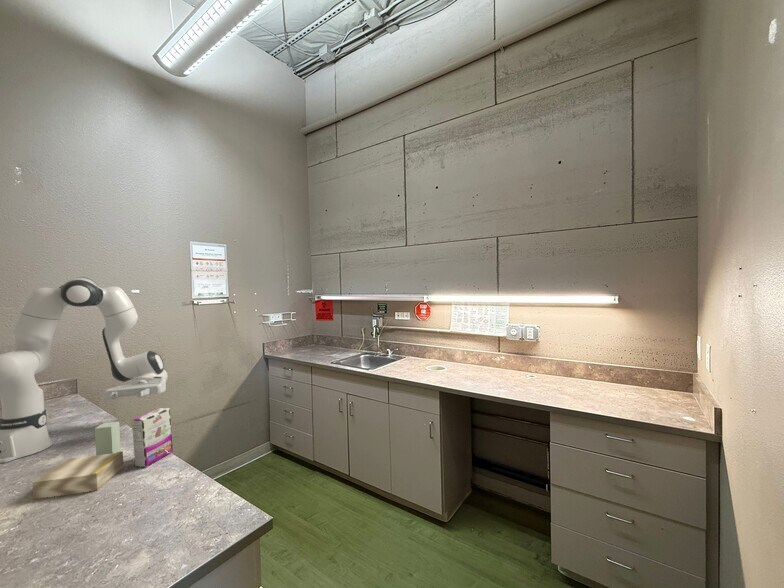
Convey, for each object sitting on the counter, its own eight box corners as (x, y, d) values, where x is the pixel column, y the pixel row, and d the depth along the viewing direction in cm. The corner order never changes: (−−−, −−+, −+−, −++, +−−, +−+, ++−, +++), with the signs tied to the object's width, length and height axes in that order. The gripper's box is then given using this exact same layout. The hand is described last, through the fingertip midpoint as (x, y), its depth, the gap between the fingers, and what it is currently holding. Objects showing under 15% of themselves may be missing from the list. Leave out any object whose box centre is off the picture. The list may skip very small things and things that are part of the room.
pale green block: (96, 462, 120) (94, 428, 119) (105, 455, 124) (103, 422, 124) (112, 460, 121) (111, 426, 120) (120, 453, 126) (119, 421, 125)
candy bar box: (161, 451, 126) (159, 407, 126) (173, 452, 125) (171, 407, 125) (133, 467, 115) (130, 419, 115) (145, 468, 114) (143, 419, 114)
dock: (33, 499, 99) (32, 481, 98) (68, 473, 112) (67, 458, 112) (97, 490, 102) (96, 473, 102) (123, 466, 116) (122, 451, 116)
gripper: (115, 381, 145) (94, 391, 132) (168, 376, 150) (153, 385, 136) (116, 396, 145) (95, 407, 132) (169, 390, 150) (154, 400, 136)
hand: (125, 396), depth 134 cm, fingers open, 8 cm apart
